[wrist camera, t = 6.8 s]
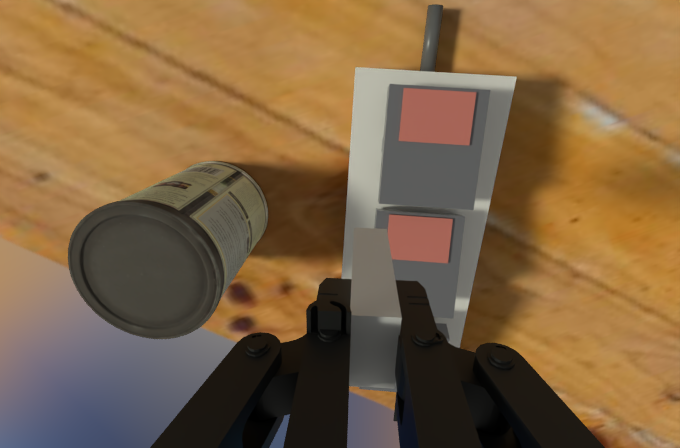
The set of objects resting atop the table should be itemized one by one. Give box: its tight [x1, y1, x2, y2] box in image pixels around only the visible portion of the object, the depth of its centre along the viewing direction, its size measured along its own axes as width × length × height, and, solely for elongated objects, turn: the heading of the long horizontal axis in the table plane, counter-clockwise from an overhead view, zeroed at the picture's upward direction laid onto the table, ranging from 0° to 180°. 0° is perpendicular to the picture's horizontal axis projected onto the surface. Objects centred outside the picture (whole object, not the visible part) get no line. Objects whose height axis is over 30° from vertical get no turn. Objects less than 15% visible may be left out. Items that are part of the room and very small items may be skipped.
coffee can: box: [68, 161, 268, 339], centre depth 31 cm, size 10×10×14 cm
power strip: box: [342, 5, 517, 348], centre depth 33 cm, size 35×12×6 cm, turn 177°
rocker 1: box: [378, 84, 490, 210], centre depth 27 cm, size 8×7×2 cm
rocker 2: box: [374, 208, 465, 318], centre depth 30 cm, size 8×7×2 cm
